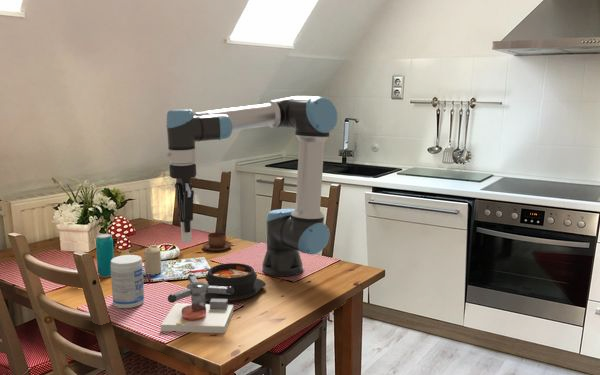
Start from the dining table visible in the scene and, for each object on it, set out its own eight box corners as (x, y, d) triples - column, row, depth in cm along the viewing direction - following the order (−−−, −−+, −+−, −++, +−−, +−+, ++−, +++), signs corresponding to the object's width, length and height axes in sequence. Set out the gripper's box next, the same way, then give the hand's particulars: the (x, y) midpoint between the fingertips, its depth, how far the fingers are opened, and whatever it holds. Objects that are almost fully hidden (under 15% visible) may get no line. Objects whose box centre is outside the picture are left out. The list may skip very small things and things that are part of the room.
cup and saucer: (207, 243, 235) (207, 230, 233) (234, 245, 233) (234, 231, 232) (199, 252, 223) (198, 237, 222) (227, 253, 221) (227, 239, 220)
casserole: (242, 277, 194) (241, 255, 192) (278, 291, 181) (278, 267, 180) (183, 296, 176) (182, 272, 174) (219, 313, 163) (218, 287, 162)
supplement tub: (143, 308, 167) (141, 263, 164) (111, 310, 164) (108, 265, 162) (145, 296, 176) (143, 253, 173) (114, 298, 174) (112, 255, 171)
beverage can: (110, 271, 198) (108, 232, 196) (117, 275, 194) (115, 235, 192) (95, 275, 194) (92, 235, 192) (102, 279, 190) (99, 238, 188)
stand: (233, 310, 165) (233, 297, 164) (224, 333, 150) (224, 318, 149) (175, 309, 166) (175, 295, 165) (160, 331, 151) (160, 316, 150)
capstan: (192, 299, 168) (191, 272, 166) (236, 315, 157) (235, 286, 155) (148, 316, 155) (147, 287, 153) (192, 335, 144) (191, 304, 142)
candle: (150, 276, 194) (148, 249, 192) (143, 272, 198) (141, 246, 196) (164, 273, 197) (162, 247, 195) (157, 269, 201) (155, 243, 200)
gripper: (164, 161, 159) (169, 237, 164) (174, 167, 148) (179, 249, 152) (189, 159, 162) (193, 234, 167) (201, 165, 151) (205, 246, 156)
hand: (187, 241), depth 160 cm, fingers closed
